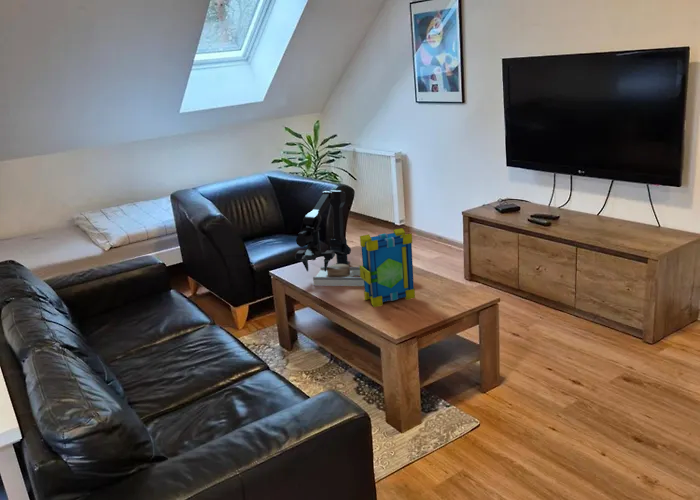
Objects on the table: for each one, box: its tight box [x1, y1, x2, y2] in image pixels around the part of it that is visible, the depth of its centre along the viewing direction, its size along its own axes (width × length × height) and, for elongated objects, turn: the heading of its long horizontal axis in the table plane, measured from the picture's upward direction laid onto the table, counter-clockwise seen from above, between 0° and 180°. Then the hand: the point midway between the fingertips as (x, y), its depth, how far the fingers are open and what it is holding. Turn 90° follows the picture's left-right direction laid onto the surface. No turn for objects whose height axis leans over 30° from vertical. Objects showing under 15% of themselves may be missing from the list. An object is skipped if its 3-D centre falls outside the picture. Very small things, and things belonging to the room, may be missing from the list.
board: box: [312, 266, 364, 287], centre depth 308 cm, size 15×31×5 cm, turn 77°
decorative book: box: [358, 227, 416, 308], centre depth 278 cm, size 14×23×30 cm, turn 111°
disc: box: [327, 263, 351, 277], centre depth 309 cm, size 11×11×4 cm
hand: (316, 271), depth 311 cm, fingers open, 9 cm apart
